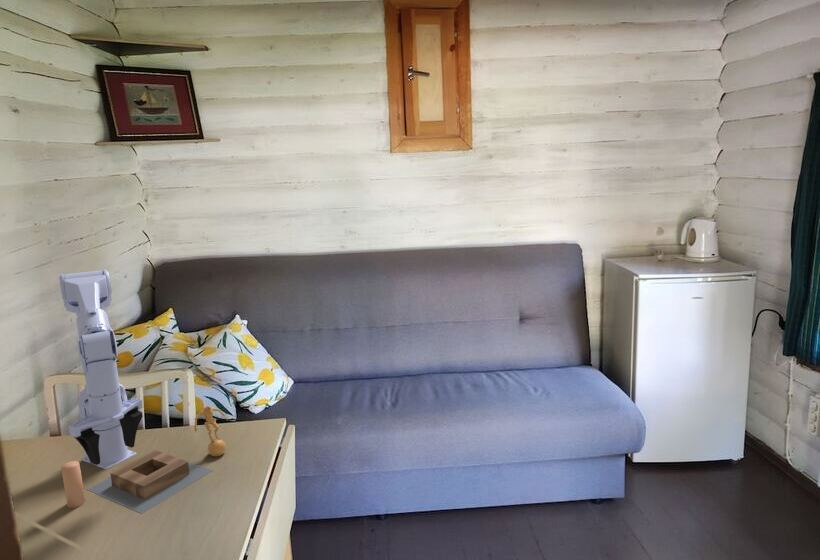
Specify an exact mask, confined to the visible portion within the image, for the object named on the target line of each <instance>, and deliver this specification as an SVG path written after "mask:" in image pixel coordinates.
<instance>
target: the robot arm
mask: <svg viewBox="0 0 820 560" xmlns="http://www.w3.org/2000/svg"><path fill="white" fill-rule="evenodd" d="M58 279H59V285H60V291H61V292H60V293H61V298H62V301H63V305H64V307H65V310H66V311H67V312H70V313H74V314H75V315H76V316H77V317H76V319H75V320H76V326H77V332H78V337H77V339H76V343H77V348H78V349H77V350H78V356H79V361H80V364H81V367H82V370H83V371H82V372H83V375H84V380H85V385H86V386H85V387H84V388H83V389H81V391H80V392H79V393H78V394H79V395H77V398H78V399H77V400H78V409H79V411H78V412H79V416H80V420H78V421H76V422H74V423H72V424H70V425H69V426H68V432H69V436H71V437H73V438H74V439H75V440H76V441H77V442H78V443H79V445H80V446H81V447H82V448H83V453H84V457H81V461H82V462H86V463H89V464H92V465H94V466H97V467H99V468H101V469H104V470H107V469H110V468H112V467H114V466H116V465H118V464H119V463H121V462H124V461H126V460H128V459H129V458H132V457H134V456H135V455H137V452H136V451H132V450H131V449H132V448H134V447H135V441H136V436H137V431H138V428H139V425H140V423H141V421H142V419H143V417H144V415H143V412H142V411H141V410H142V409H143V408H144V406H143V399H142V398H139V397H138V398H137V397H134V398H132V399H128V396H127V393H126V388H125V386H124V385H123V384H122V383H120V380H119V372H118V366H117V359H118V355H119V353H118V352H119V351H118V344H117V340H116V339H117V338H116V334H115V333H114V332H115V331H114V330H113V328H112V327H111V325H110V319H109V316H108V314H107V312H106V311H105V310H104V309H106V308H107V307H109V306H111V302H112V283H111V277H110V273H109V271H108V270H107V269H105V268H104V269H102V270H93V271H83V272H82V271H81V272H74V273H61V275H59V277H58ZM114 356H115V357H114ZM128 448H131V449H128Z"/></svg>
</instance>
